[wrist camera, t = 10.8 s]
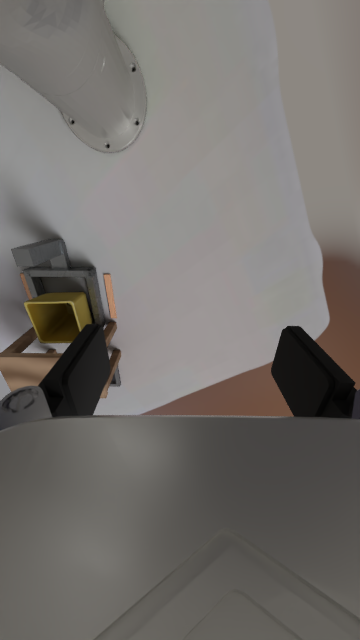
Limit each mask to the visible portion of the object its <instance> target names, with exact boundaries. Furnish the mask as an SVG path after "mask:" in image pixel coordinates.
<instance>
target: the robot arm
mask: <svg viewBox="0 0 360 640" xmlns="http://www.w3.org/2000/svg"><path fill="white" fill-rule="evenodd" d="M0 64H1V65H3V66H4V67H5V68H7V69H8V70H9V71H11V72H12V73H13V74H15V75H16V76H17V77H19V78H20V79H21V80H22V81H24V82H25V83H26V84H27V85H29V86H30V87H31V88H33V89H34V90H35V91H36V92H38V93H39V94H40V95H42V96H43V97H44V98H45V99H47V100H48V101H49V102H50V103H52V104H53V105H54V106H56V107H57V108H58V109H59V110H61V112H62V114H63V117H64V119H65V120H66V122H67V124H68V126H69V127H70V129H71V130H72V131H73V132H74V134H75V135H76V136H77V137H78V138H79V139H80V140H81V141H82V142H83V143H85V144H86V145H88V146H89V147H91V148H93V149H95V150H97V151H101V152H104V153H114V152H119V151H122V150H124V149H126V148H127V147H128V146H130V145H131V144H132V143H133V142H134V141H135V140H136V138H137V137H138V135H139V133H140V131H141V130H142V127H143V124H144V121H145V115H146V106H147V97H146V89H145V84H144V80H143V76H142V73H141V70H140V67H139V65H138V63H137V61H136V59H135V57H134V55H133V54H132V52H131V51H130V49H129V48H128V47H127V45H126V44H125V43H124V42H123V41H122V40H121V39H120V38H119V37H117V36H116V35H114V33H113V30H112V28H111V25H110V22H109V19H108V17H107V15H106V12H105V10H104V0H0ZM133 69H135V70H136V71H135V72H132V70H133ZM73 121H75V123H74V125H73ZM136 122H139V125H136ZM107 145H110V147H109V148H107ZM110 370H111V367H110V361H109V356H108V351H107V346H106V340H105V335H104V330H103V327H100V326H99V324H86V325H85V326H84V328H83V329H82V330H81V331H80V333H79V334H78V335H77V337H76V338H75V339H74V340H73V342H72V343H71V344H70V345H69V347H68V348H67V349H66V351H65V352H64V353H63V354H62V356H61V357H60V358H59V359H58V361H57V362H56V363H55V365H54V366H53V367H52V368H51V370H50V371H49V372H48V373H47V375H46V376H45V377H44V379H43V380H42V381H41V382H40V384H39V385H38V386H25V387H22V388H18V389H16V390H14V391H12V392H10V393H9V394H8V395H6V396H5V397H4V398H3V399H2V400H1V401H0V640H360V389H359V390H356V389H355V388H354V385H355V382H354V381H353V380H352V379H351V378H350V377H349V376H348V375H347V374H346V373H345V372H344V371H343V370H342V369H341V368H340V367H339V366H338V365H337V364H336V363H335V362H334V361H333V360H332V358H331V357H330V356H329V355H328V354H326V352H325V351H324V350H323V349H322V348H321V347H320V346H319V345H318V344H317V343H316V342H315V341H314V340H313V339H312V338H311V337H310V336H309V335H308V334H307V333H306V332H305V331H304V330H303V329H302V328H301V327H300V326H287V327H286V328H285V329H283V330H282V333H281V336H280V340H279V343H278V347H277V350H276V354H275V357H274V361H273V364H272V368H271V373H272V376H273V378H274V380H275V382H276V383H277V385H278V387H279V389H280V391H281V393H282V395H283V396H284V398H285V400H286V402H287V404H288V406H289V408H290V410H291V411H292V413H293V415H294V417H279V416H278V417H277V416H275V417H274V416H188V415H186V416H184V415H183V416H182V415H179V416H178V415H93V413H94V411H95V408H96V406H97V403H98V401H99V399H100V396H101V394H102V391H103V389H104V387H105V384H106V382H107V379H108V377H109V375H110Z"/></svg>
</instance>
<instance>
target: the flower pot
mask: <svg viewBox="0 0 360 640" xmlns="http://www.w3.org/2000/svg"><path fill="white" fill-rule="evenodd" d="M68 303H70V304H71V305H69V304H68ZM24 306H25V308H26V311H27V313H28V315H29V317H30V320H31V322H32V325H33V327H34V329H35V332H36V334H37V337H38V339H39V341H40V343H72V342H73V340H74V339H75V338H76V337H77V335H78V334H79V333H80V331H81V330H82V329H83V328H84V326H85V325H86V324H92V318H91V312H90V309H89V305H88V301H87V297H86V294H85V293H84V292H55V293H47V294H43V295H40V296H38V297H36V298H33V299H31V300H28V301H26V302H24Z"/></svg>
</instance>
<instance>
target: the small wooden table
mask: <svg viewBox="0 0 360 640" xmlns="http://www.w3.org/2000/svg"><path fill="white" fill-rule="evenodd" d="M116 329H117V325H116V322H109V323H108V325H107V326H106V328H105V330H104V335H105V340H106V346H107V347H108V345H109V343H110V341H111V339H112V337H113V335H114V333H115V331H116ZM36 338H37V334H36V332H35V329H34V327H32V328H31V329H29V330H28V331H27V332H26V333H25V334H23V335H22V336H21V337H20V338H19V339H17V340H16V341H15V342H14V343H13V344H11V345H10V346H9V347H8V348H7V349H5V350H4V351H3V352H2V353H0V371H1V373H2V375H3V377H4V378H5V380H6V382H7V384H8V386H9V388H10V390H11V392H12V391H14V390H16V389H18V388H22V387H25V386H38V385H39V384H40V382H41V381H42V380H43V379H44V377H45V376H46V375H47V373H48V372H49V371H50V370H51V368H52V367H53V366H54V365H55V363H56V362H57V361H58V359H59V358H60V357H61V356H62V354H63V353H57V352H56V350H48V352H47V353H21V352H22V351H24V350H25V349H26V348H27V347H28V346H29V345H30V344H31V343H32V342H33V341H34V340H35V339H36ZM120 357H121V351H120V350H114V351H113V353H112V356H111V358H110V360H109V361H110V367H111V370H110V375H109V377H108V379H107V382H106V384H105V387H104V389H103V391H102V394H101V396H100V398H106V397H107V394H108V392H107V391H108V388H109V385H110V383H111V380H112V378H113V375H114V373H115V370H116V368H117V365H118V362H119V360H120Z"/></svg>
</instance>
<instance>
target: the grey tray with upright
mask: <svg viewBox="0 0 360 640" xmlns="http://www.w3.org/2000/svg"><path fill="white" fill-rule="evenodd" d="M11 251H12V253H13V256H14V259H15V262H16V264H17V266H36V265H38V264H41V263H43V262H45V261H48V260H50V262H51V266H52V267H29V268H27V269H24V270H22V271H23V274H24V276H25V279H26V282H27V285H28V288H29V291H30V293H31V296H32V299H33V298H36V297H38V296H40V295H43V294H45V292H44V289H43V286H42V282H41V279H40V277H86V281H87V286H88V291H89V296H90V300H91V305H92V310H93V315H94V319H92V324H99V326H100V327H104V325H105V324H106V323H105V318H104V312H103V307H102V301H101V296H100V290H99V285H98V279H97V274H96V268H91V267H70V263H69V259H68V255H67V250H66V246H65V242H63V239H47V240H43V241H40V242H36V243H32V244H28V245H25V246H21V247H17V248H13V249H11Z"/></svg>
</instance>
